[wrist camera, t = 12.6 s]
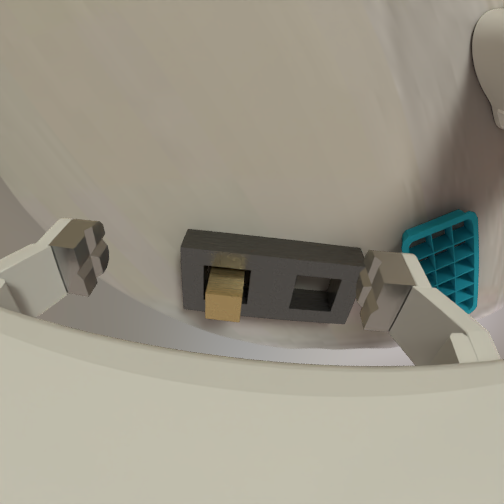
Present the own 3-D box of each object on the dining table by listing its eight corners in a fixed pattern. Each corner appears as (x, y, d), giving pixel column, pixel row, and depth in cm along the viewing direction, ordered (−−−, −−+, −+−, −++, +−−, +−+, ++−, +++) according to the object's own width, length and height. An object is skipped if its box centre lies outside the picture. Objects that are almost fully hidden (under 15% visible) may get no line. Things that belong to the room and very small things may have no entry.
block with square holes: (360, 248, 39) (367, 267, 36) (340, 304, 45) (344, 324, 42) (187, 229, 39) (180, 247, 36) (189, 289, 45) (183, 308, 41)
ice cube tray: (411, 322, 48) (416, 335, 45) (392, 227, 38) (400, 240, 35) (469, 298, 44) (476, 310, 42) (466, 198, 34) (477, 209, 32)
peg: (246, 254, 41) (241, 297, 34) (243, 278, 43) (239, 322, 37) (215, 251, 41) (205, 293, 34) (214, 275, 43) (205, 318, 37)
